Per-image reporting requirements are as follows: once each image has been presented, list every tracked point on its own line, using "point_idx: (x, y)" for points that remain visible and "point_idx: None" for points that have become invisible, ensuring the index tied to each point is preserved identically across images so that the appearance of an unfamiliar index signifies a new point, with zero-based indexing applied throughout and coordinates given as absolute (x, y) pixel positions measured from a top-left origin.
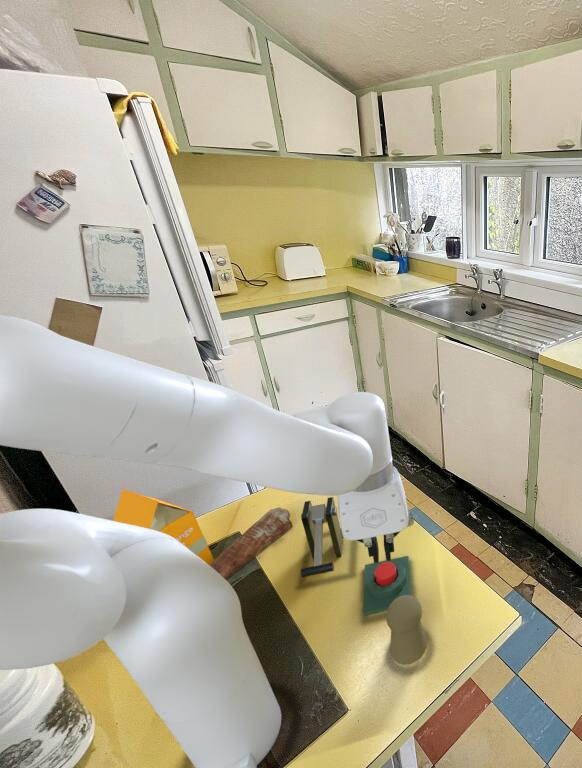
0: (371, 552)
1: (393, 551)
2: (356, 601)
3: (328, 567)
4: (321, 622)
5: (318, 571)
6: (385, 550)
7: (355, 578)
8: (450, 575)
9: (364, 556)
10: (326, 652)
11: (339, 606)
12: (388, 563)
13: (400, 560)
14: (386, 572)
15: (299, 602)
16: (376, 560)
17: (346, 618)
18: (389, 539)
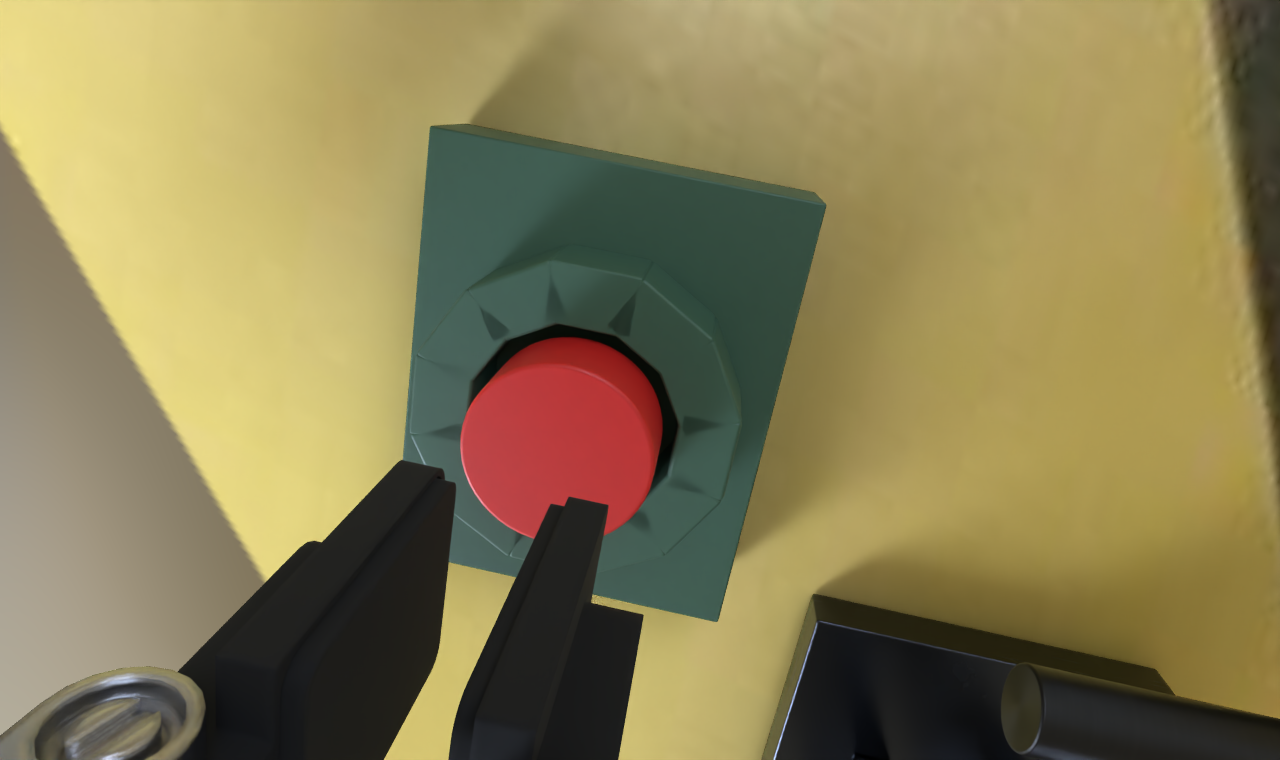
0: (589, 657)
1: (311, 544)
2: (833, 386)
3: (1081, 716)
4: (1104, 335)
5: (1183, 718)
6: (358, 584)
7: (798, 563)
8: (164, 280)
9: (704, 694)
10: (1142, 66)
11: (953, 402)
12: (515, 515)
13: (456, 536)
14: (548, 430)
15: (1197, 560)
16: (564, 522)
17: (932, 283)
18: (114, 746)
